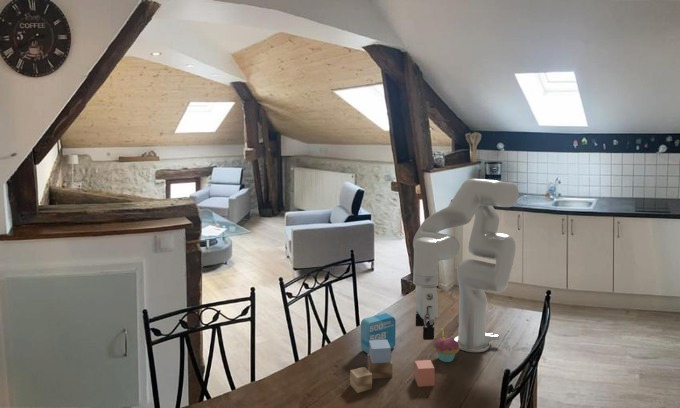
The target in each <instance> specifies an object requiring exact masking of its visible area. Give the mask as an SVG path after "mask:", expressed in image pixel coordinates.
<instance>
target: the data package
mask: <svg viewBox="0 0 680 408" xmlns="http://www.w3.org/2000/svg"><path fill="white" fill-rule="evenodd" d="M396 321H397V320H396V318H395V317H394V316H393V315H390V314H389V313H386V312H384V313H380V314H377V315H372V316H369V317H365V318H363V319H362V320H361V321H360V348H361V350H362V351H363V352H365V353H366V354H367V355H368V354H369V340H388V343H389V345H390V347H391V350H392V349H393V348H395V347H396V327H397V326H396Z"/></svg>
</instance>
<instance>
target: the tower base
mask: <svg viewBox="0 0 680 408" xmlns="http://www.w3.org/2000/svg"><path fill="white" fill-rule="evenodd" d="M367 370H368V371H369V372H370V373H371V374H372V380H374V379H389V378H393V361H392V360H391V363H375V364H372V362H371V359H370V356H369V354H367Z"/></svg>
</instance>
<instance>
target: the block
mask: <svg viewBox="0 0 680 408" xmlns="http://www.w3.org/2000/svg"><path fill="white" fill-rule="evenodd" d="M349 383H350V386H351V388H352V389H353V390H354V391H355V392H356V393H357V394H359V393H364V392H366V391H370V390H372V389H373V379H372V374H371V373H370V372H369V371H368V368H366V367H365V366H361V367H358V368H354V369H350V370H349Z"/></svg>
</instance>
